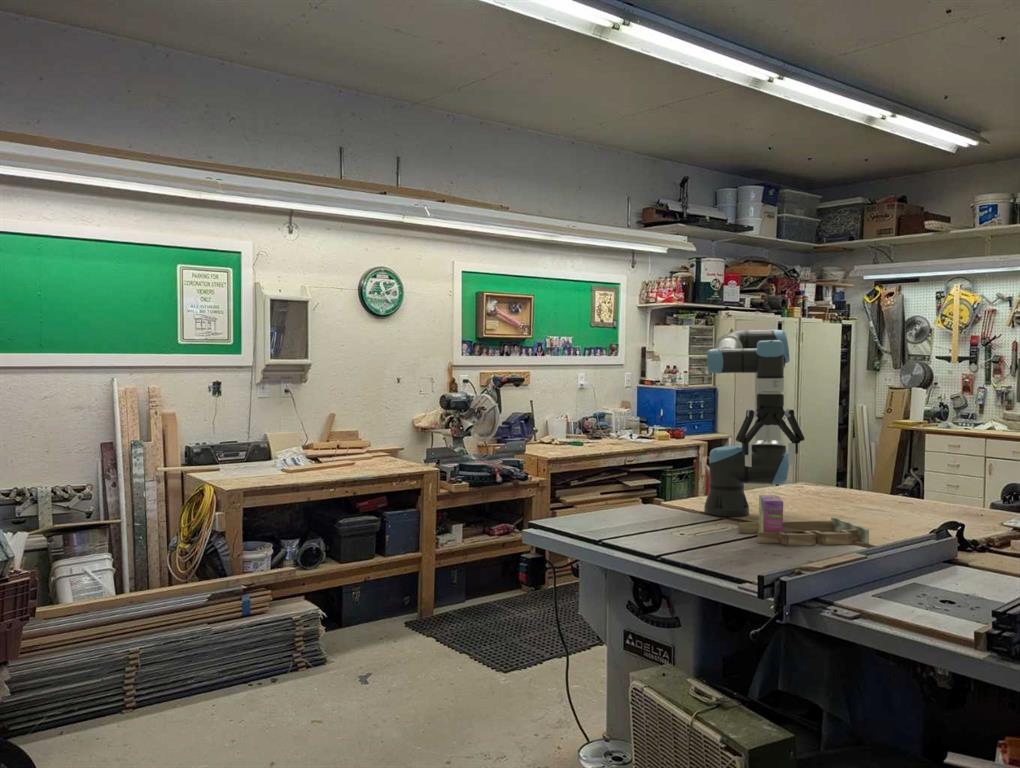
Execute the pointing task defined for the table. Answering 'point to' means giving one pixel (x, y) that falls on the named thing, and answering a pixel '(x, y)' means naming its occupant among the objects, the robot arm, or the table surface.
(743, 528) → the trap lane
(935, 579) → the table surface
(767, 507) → the box
